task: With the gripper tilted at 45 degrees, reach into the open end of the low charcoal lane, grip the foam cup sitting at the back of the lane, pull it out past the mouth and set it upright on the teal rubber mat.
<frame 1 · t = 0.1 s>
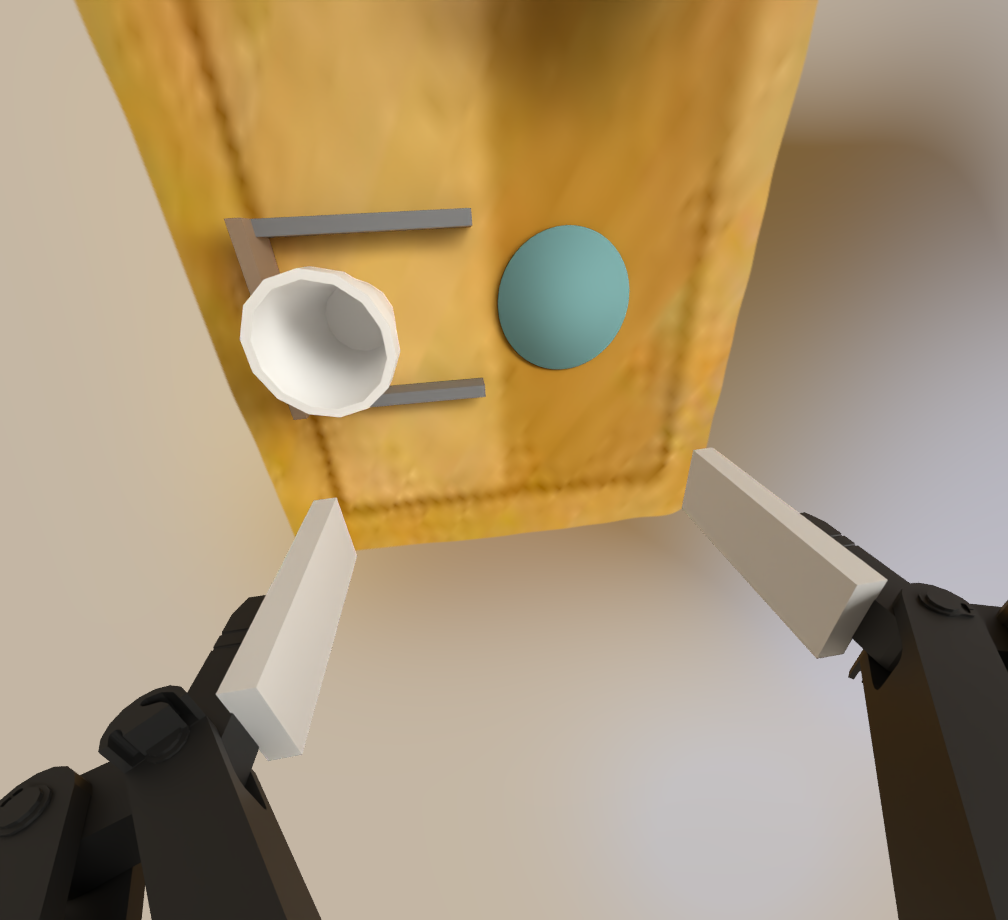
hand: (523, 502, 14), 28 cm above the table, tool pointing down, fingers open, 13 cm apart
cup lane: (387, 315, 36), on the table
foam cup: (361, 317, 36), on the table
teal mat: (563, 302, 38), on the table
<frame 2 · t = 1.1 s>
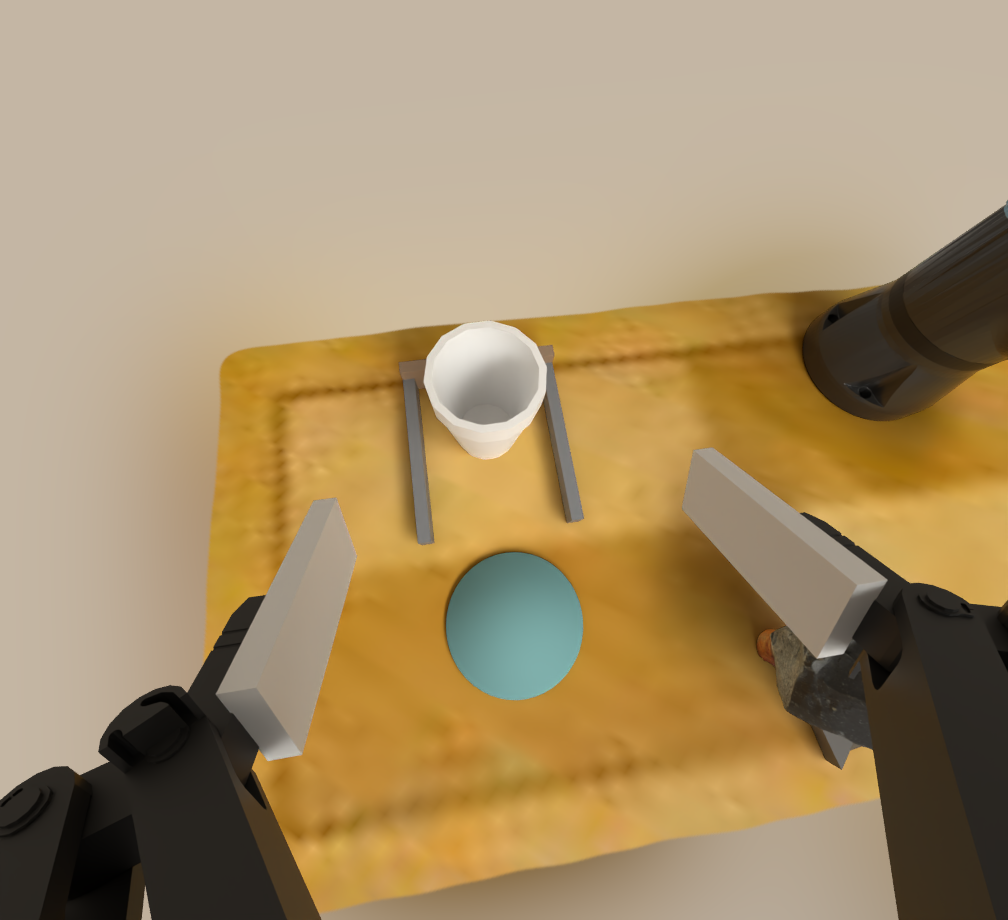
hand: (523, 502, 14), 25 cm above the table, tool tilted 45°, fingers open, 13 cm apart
cup lane: (489, 453, 41), on the table
grey rock: (795, 666, 37), on the table
foam cup: (486, 432, 42), on the table
teal mat: (514, 622, 37), on the table
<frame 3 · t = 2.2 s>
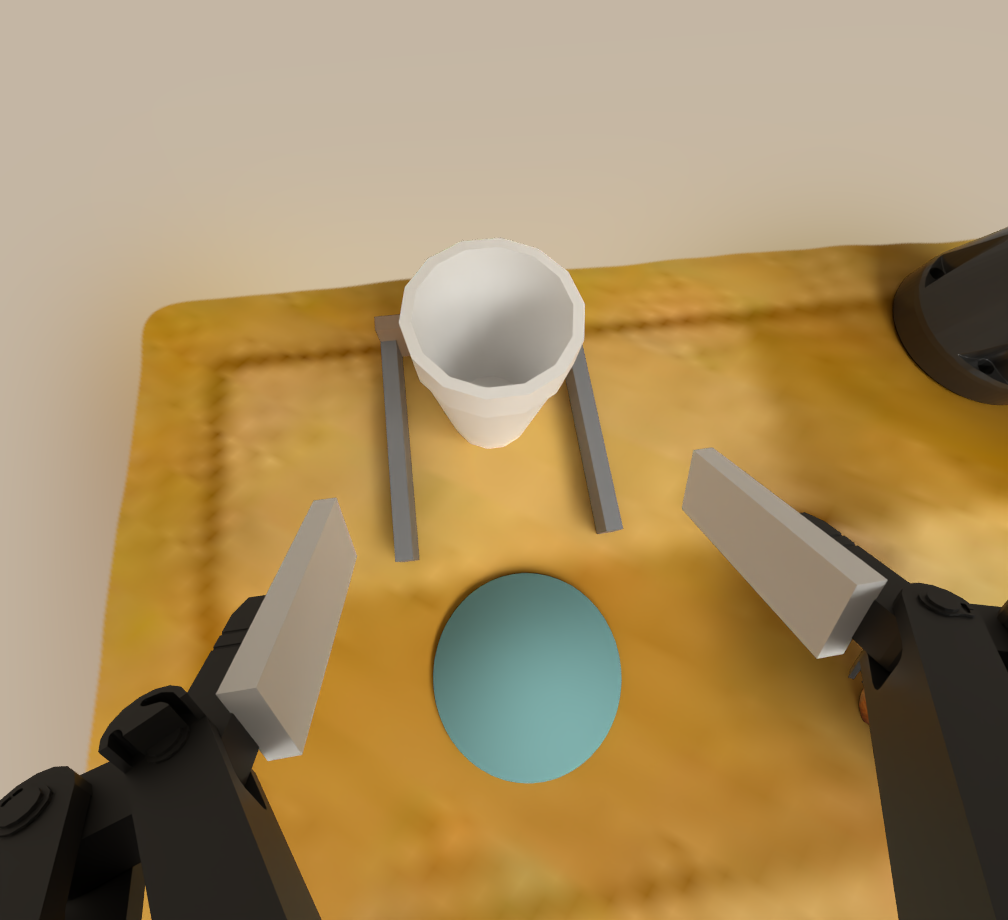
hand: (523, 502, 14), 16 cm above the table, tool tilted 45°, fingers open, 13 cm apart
cup lane: (494, 440, 31), on the table
foam cup: (490, 413, 32), on the table
teal mat: (527, 669, 27), on the table
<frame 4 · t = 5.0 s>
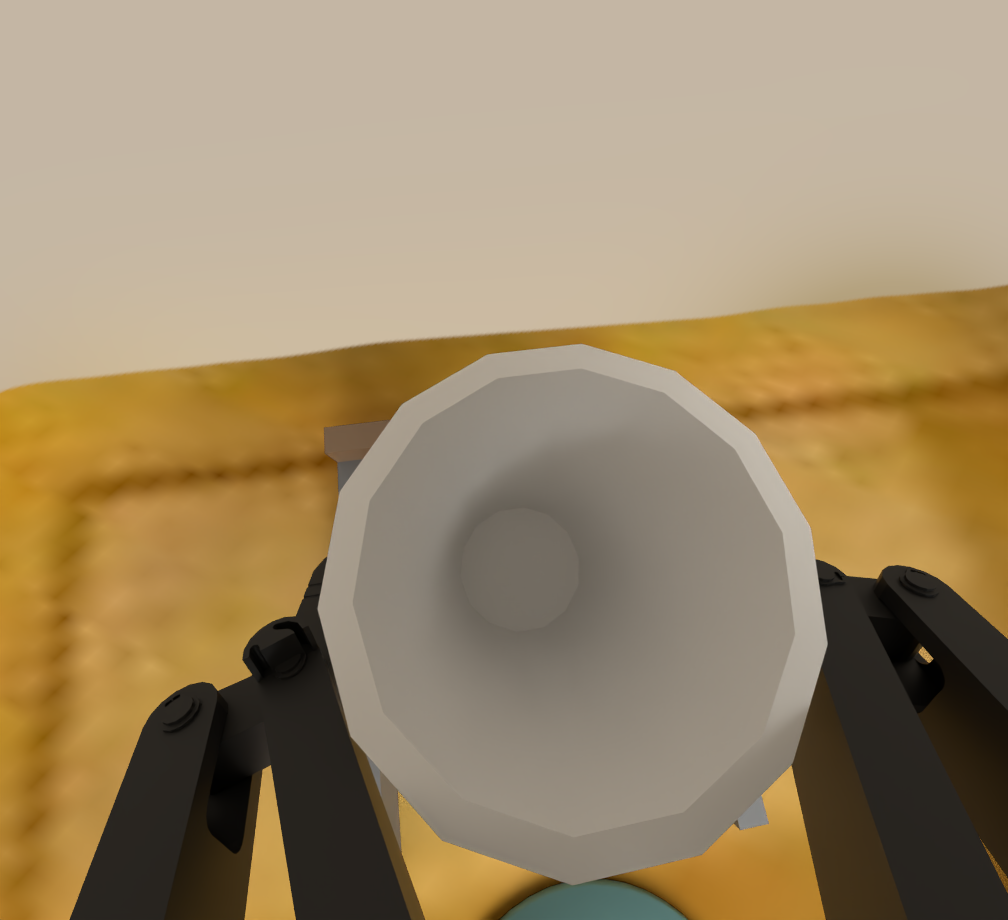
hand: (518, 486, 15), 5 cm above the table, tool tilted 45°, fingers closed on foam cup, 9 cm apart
cup lane: (527, 618, 19), on the table
foam cup: (518, 566, 20), on the table, touching gripper
when the fingers open (7 cm above the table, at t = 11.8 s): foam cup stays where it is, resting on teal mat.
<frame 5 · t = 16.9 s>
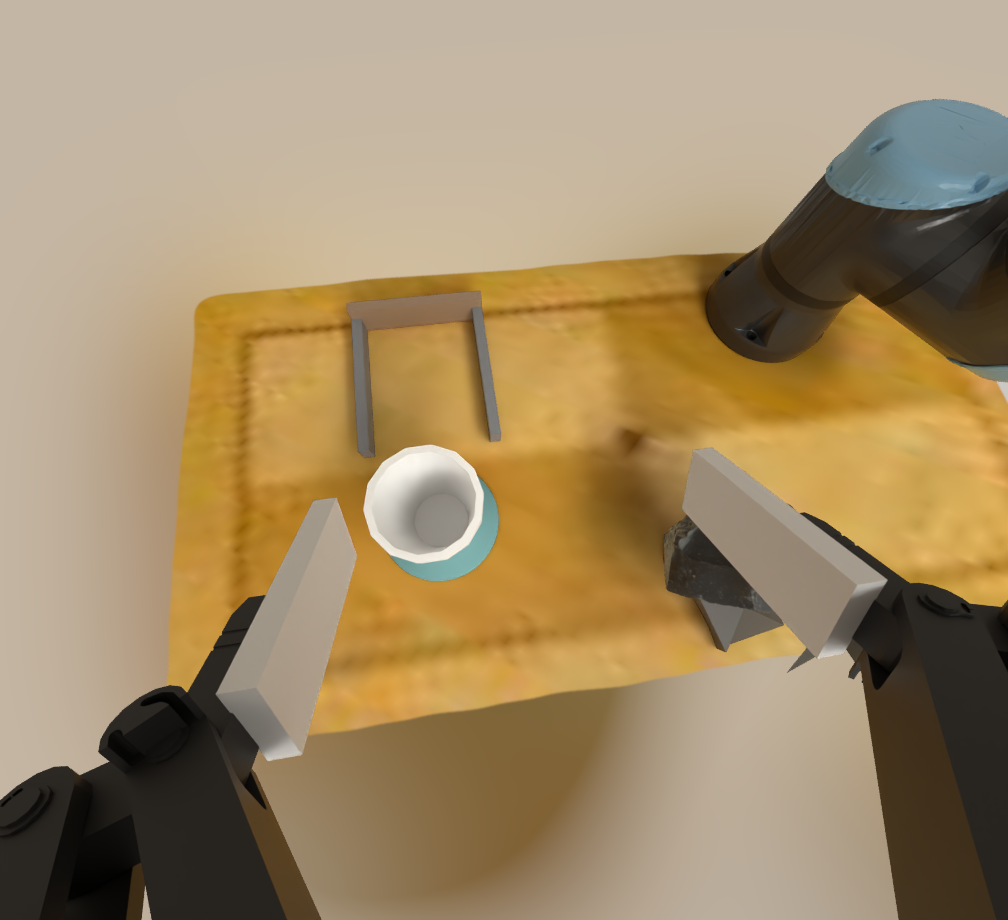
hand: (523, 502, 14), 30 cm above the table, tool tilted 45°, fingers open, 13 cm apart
cup lane: (426, 384, 48), on the table
grey rock: (696, 574, 43), on the table
foam cup: (442, 520, 43), resting on teal mat
teal mat: (440, 520, 43), on the table
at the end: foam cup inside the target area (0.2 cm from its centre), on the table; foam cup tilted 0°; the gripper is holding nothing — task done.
